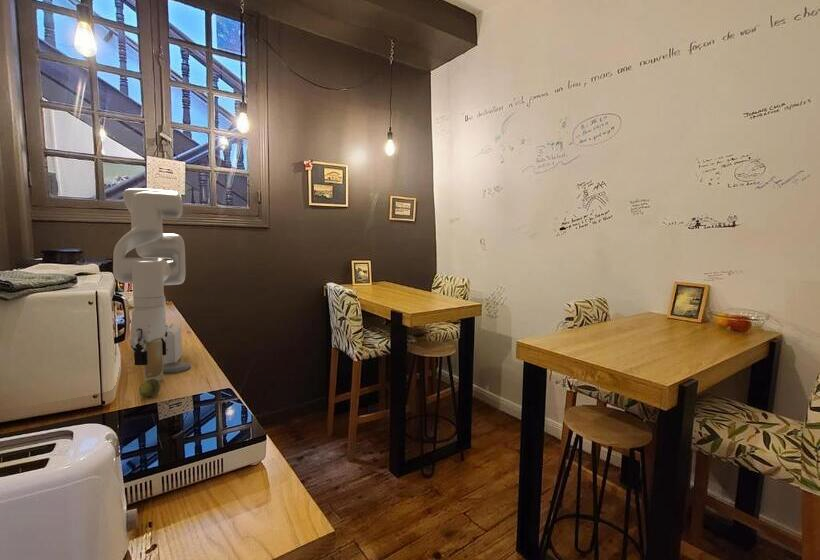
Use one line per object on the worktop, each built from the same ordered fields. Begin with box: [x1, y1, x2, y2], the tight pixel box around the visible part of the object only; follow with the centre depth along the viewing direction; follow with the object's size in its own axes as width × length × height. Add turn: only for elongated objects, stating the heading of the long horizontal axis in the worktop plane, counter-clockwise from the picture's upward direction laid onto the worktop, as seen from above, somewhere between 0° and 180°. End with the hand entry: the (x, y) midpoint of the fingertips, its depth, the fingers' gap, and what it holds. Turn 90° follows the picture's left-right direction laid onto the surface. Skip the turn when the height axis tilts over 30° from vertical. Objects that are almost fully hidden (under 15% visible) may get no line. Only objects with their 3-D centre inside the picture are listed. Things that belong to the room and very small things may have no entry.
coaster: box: [163, 361, 192, 375], centre depth 128 cm, size 9×9×1 cm
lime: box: [138, 379, 161, 399], centre depth 107 cm, size 4×5×5 cm
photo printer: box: [162, 323, 183, 365], centre depth 136 cm, size 10×4×12 cm, turn 17°
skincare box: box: [143, 338, 164, 382], centre depth 119 cm, size 6×4×12 cm
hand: (151, 359), depth 118 cm, fingers open, 9 cm apart
